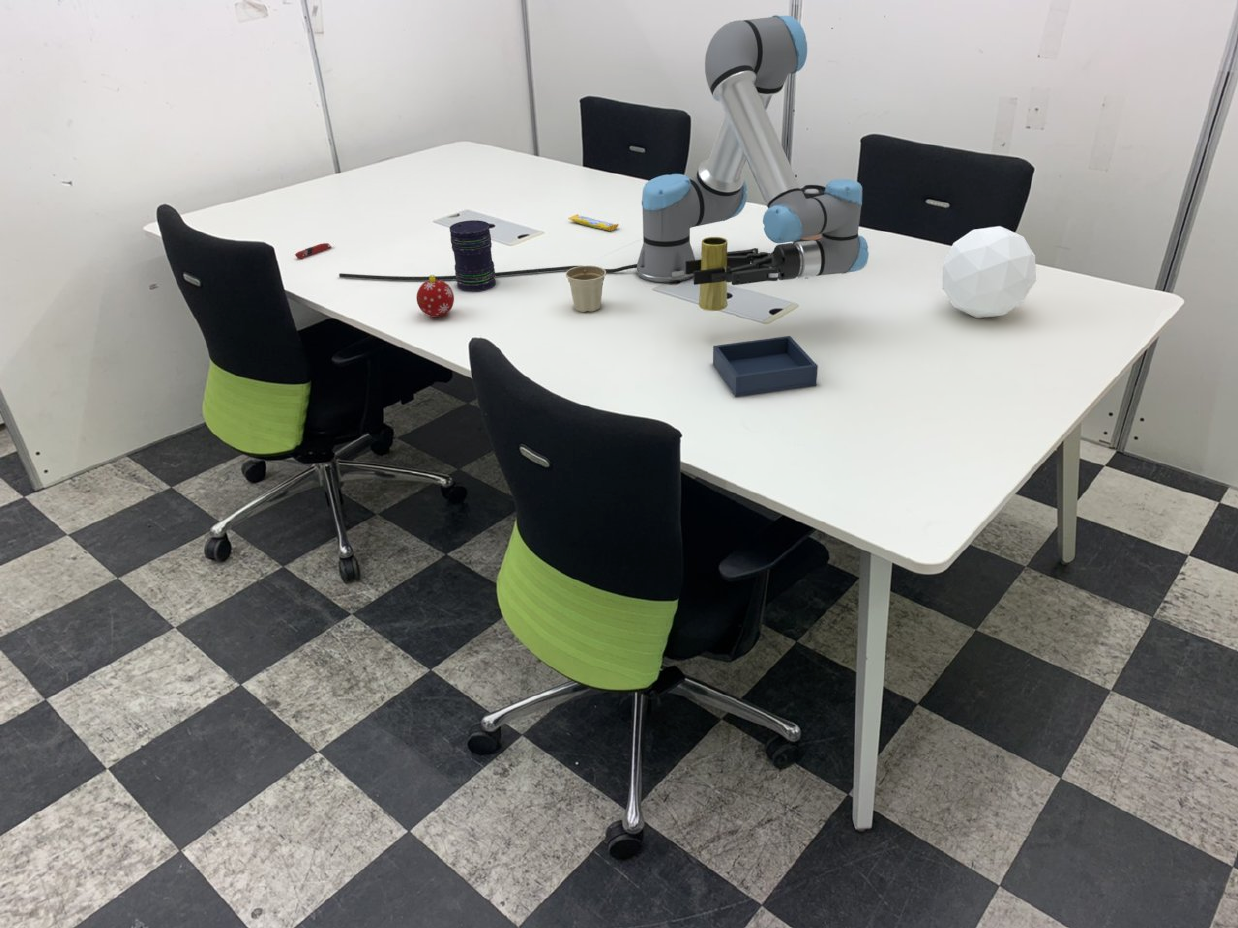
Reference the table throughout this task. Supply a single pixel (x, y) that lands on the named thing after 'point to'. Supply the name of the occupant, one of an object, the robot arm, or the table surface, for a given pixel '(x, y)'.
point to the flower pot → (586, 287)
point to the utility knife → (312, 250)
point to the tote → (764, 366)
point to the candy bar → (593, 223)
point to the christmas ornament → (435, 297)
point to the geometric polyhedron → (988, 272)
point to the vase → (712, 258)
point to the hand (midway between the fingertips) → (690, 272)
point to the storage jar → (472, 255)
